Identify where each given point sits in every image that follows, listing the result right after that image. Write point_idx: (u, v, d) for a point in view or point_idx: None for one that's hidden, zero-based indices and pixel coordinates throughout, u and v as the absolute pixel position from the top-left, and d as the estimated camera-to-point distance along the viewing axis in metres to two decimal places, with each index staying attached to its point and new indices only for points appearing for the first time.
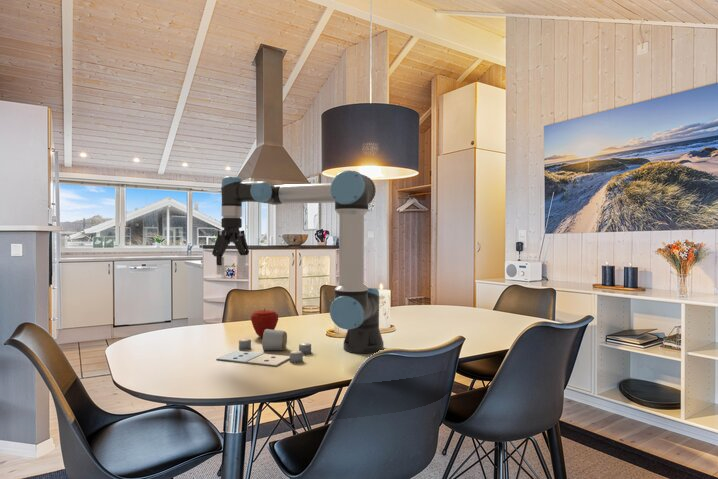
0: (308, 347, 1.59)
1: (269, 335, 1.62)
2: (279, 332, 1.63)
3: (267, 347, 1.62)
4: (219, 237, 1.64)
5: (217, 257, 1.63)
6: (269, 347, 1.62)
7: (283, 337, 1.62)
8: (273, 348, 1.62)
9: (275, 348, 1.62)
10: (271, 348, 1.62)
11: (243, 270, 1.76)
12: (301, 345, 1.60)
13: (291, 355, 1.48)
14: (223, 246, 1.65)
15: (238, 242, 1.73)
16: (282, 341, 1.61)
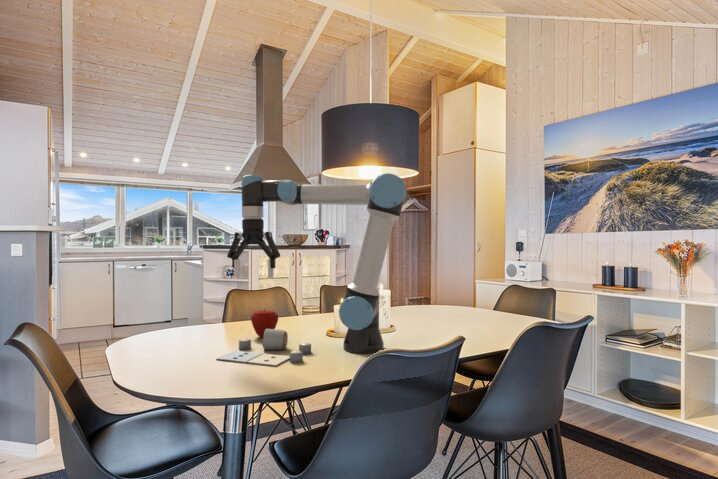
0: (308, 347, 1.59)
1: (270, 335, 1.63)
2: (280, 332, 1.64)
3: (268, 347, 1.62)
4: None
5: None
6: (269, 346, 1.62)
7: (284, 337, 1.63)
8: (274, 348, 1.63)
9: (276, 348, 1.63)
10: (272, 348, 1.63)
11: None
12: (301, 345, 1.60)
13: (291, 355, 1.48)
14: None
15: None
16: (283, 341, 1.62)
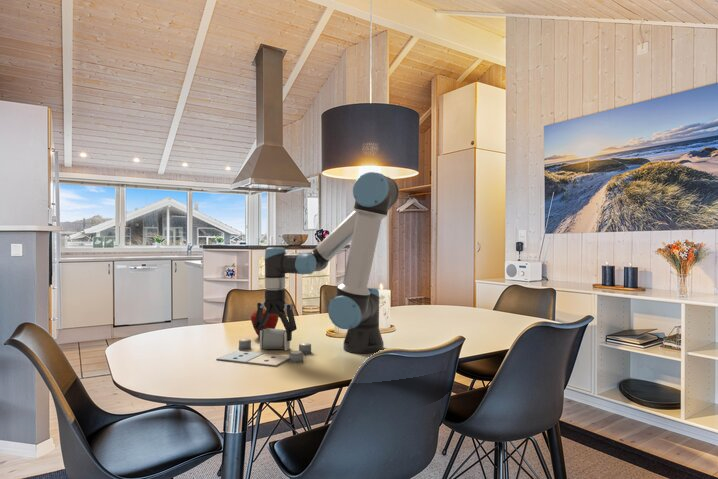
0: (308, 347, 1.59)
1: (270, 334, 1.63)
2: (280, 331, 1.65)
3: (268, 346, 1.63)
4: None
5: None
6: (269, 346, 1.63)
7: (283, 336, 1.64)
8: (274, 347, 1.64)
9: (276, 347, 1.64)
10: (272, 347, 1.64)
11: None
12: (301, 345, 1.60)
13: (291, 355, 1.48)
14: None
15: None
16: (282, 340, 1.63)
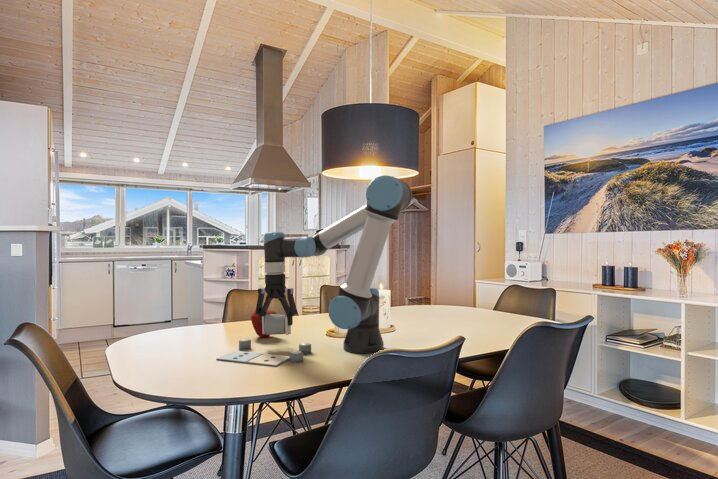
0: (308, 347, 1.59)
1: (271, 319, 1.64)
2: (280, 316, 1.65)
3: (269, 331, 1.63)
4: None
5: None
6: (271, 331, 1.63)
7: (284, 321, 1.64)
8: (275, 332, 1.64)
9: (277, 332, 1.64)
10: (273, 332, 1.64)
11: (286, 333, 1.63)
12: (301, 345, 1.60)
13: (291, 355, 1.48)
14: None
15: None
16: (284, 325, 1.63)
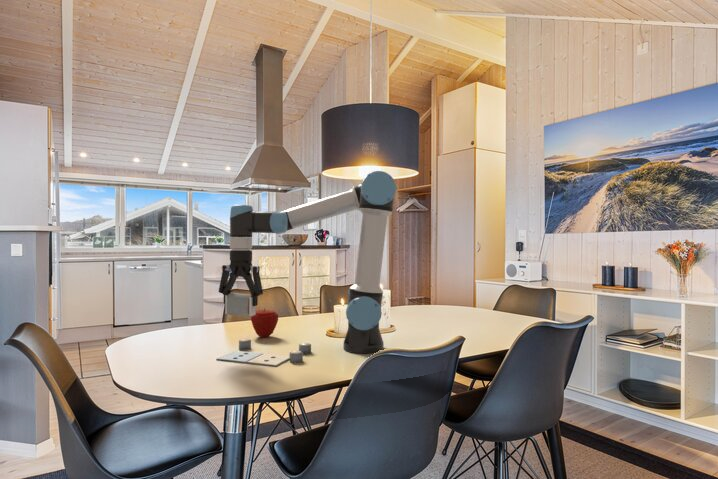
0: (308, 347, 1.59)
1: (234, 298, 1.52)
2: (245, 295, 1.53)
3: (232, 311, 1.52)
4: None
5: None
6: (233, 311, 1.52)
7: None
8: (238, 312, 1.52)
9: (240, 312, 1.52)
10: (236, 312, 1.52)
11: None
12: (301, 345, 1.60)
13: (291, 355, 1.48)
14: None
15: None
16: (248, 305, 1.51)
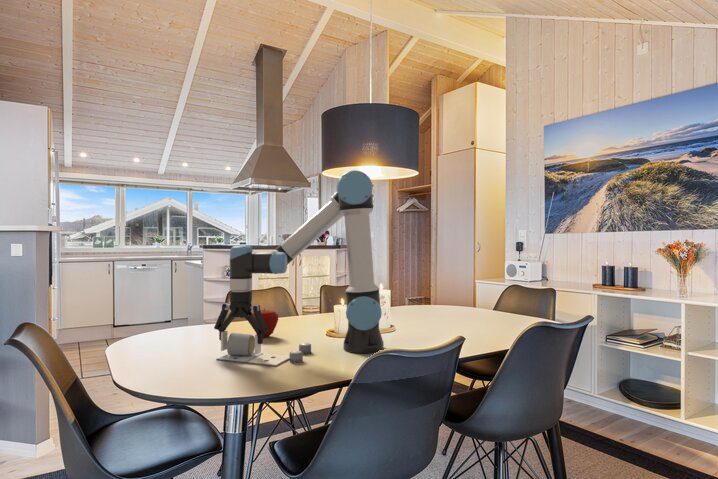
0: (308, 347, 1.59)
1: (234, 339, 1.52)
2: (245, 336, 1.53)
3: (232, 352, 1.52)
4: None
5: None
6: (234, 352, 1.52)
7: (249, 341, 1.52)
8: (239, 353, 1.52)
9: (241, 353, 1.52)
10: (237, 353, 1.52)
11: None
12: (301, 345, 1.60)
13: (291, 355, 1.48)
14: None
15: None
16: (248, 346, 1.51)
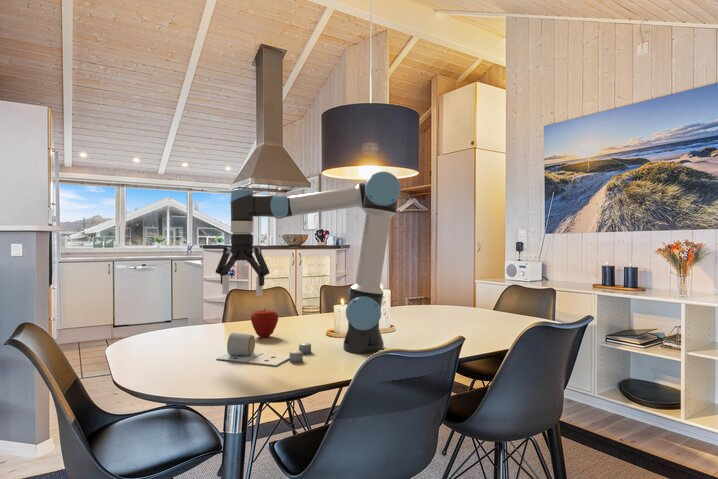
0: (308, 347, 1.59)
1: (234, 339, 1.52)
2: (245, 336, 1.53)
3: (232, 352, 1.52)
4: None
5: None
6: (234, 352, 1.52)
7: (249, 341, 1.52)
8: (239, 353, 1.52)
9: (241, 353, 1.52)
10: (237, 353, 1.52)
11: None
12: (301, 345, 1.60)
13: (291, 355, 1.48)
14: None
15: None
16: (248, 346, 1.51)
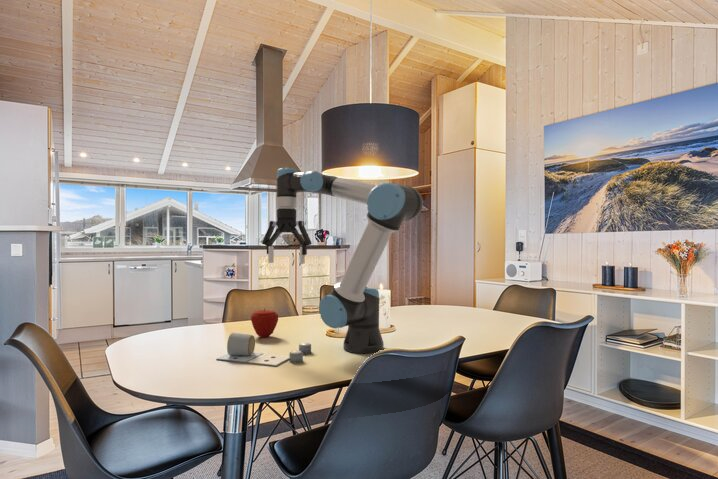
0: (308, 347, 1.59)
1: (234, 339, 1.52)
2: (245, 336, 1.53)
3: (232, 352, 1.52)
4: None
5: None
6: (234, 352, 1.52)
7: (249, 341, 1.52)
8: (239, 353, 1.52)
9: (241, 353, 1.52)
10: (237, 353, 1.52)
11: (300, 262, 1.69)
12: (301, 345, 1.60)
13: (291, 355, 1.48)
14: None
15: None
16: (248, 346, 1.51)
